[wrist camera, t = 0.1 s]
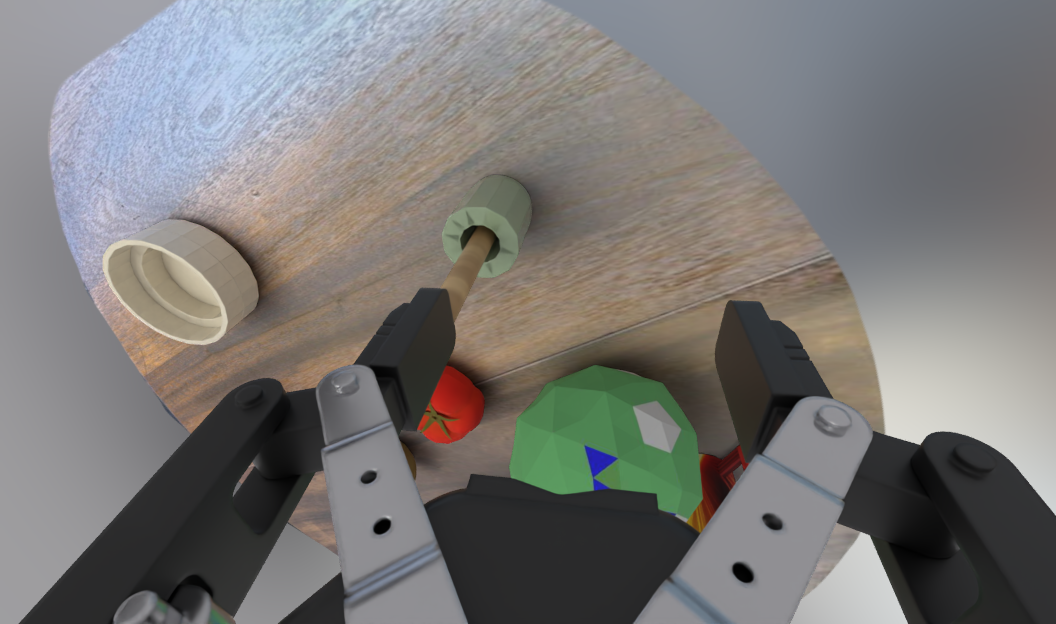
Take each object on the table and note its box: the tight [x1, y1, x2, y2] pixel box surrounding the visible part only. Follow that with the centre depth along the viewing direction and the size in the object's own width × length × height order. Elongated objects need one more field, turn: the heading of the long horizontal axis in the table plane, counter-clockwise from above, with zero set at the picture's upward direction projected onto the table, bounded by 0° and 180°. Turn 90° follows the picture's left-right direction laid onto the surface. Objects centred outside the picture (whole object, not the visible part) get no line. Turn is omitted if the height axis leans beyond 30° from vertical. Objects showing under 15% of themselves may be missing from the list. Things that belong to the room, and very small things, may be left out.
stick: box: [441, 225, 496, 322], centre depth 33 cm, size 2×2×18 cm
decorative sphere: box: [509, 365, 703, 522], centre depth 45 cm, size 19×20×20 cm
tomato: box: [417, 366, 485, 444], centre depth 53 cm, size 10×11×6 cm
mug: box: [686, 445, 749, 533], centre depth 53 cm, size 10×14×12 cm
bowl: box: [103, 219, 259, 345], centre depth 49 cm, size 13×13×6 cm
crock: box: [442, 175, 532, 278], centre depth 38 cm, size 6×6×8 cm
